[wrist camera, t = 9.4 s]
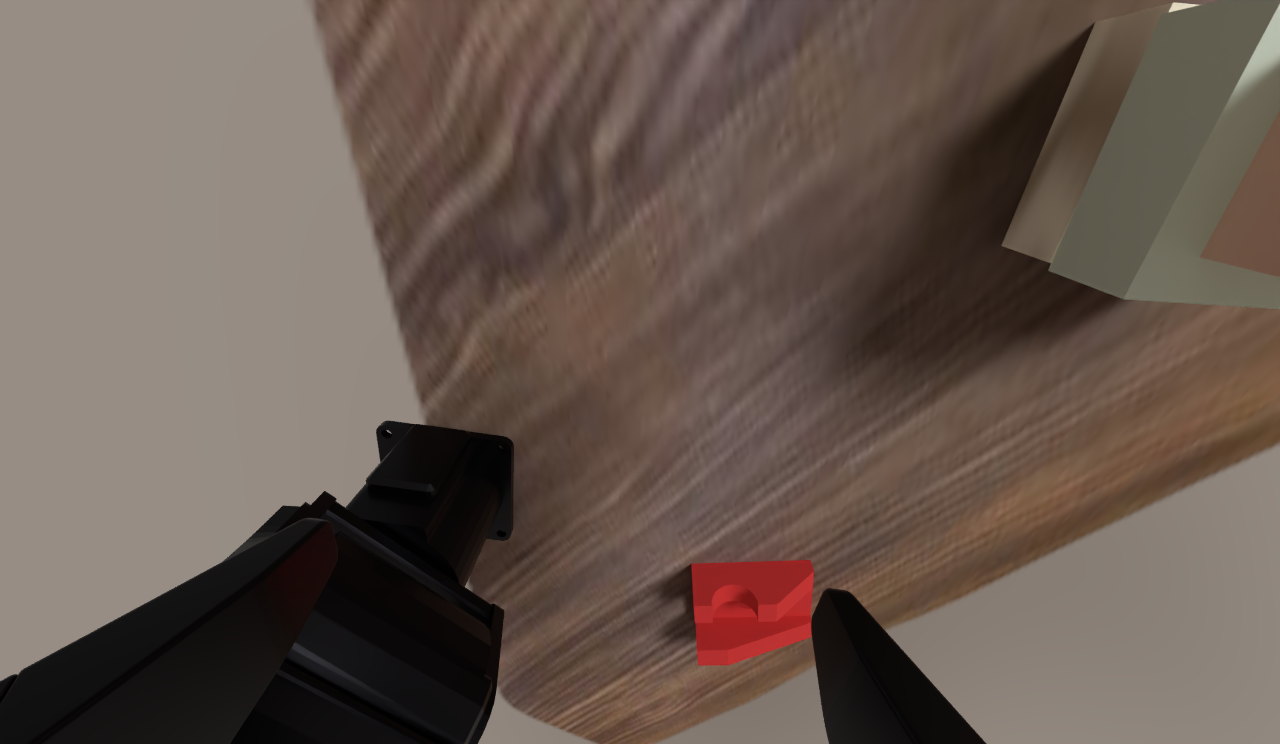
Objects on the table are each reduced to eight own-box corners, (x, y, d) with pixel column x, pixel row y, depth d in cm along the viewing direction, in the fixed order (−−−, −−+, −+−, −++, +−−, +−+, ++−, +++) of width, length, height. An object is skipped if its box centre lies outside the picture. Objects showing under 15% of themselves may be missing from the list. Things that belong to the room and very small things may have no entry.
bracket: (695, 616, 29) (698, 665, 26) (691, 559, 27) (693, 606, 24) (804, 613, 29) (818, 664, 26) (808, 555, 26) (824, 603, 24)
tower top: (1263, 283, 16) (1383, 315, 13) (1047, 270, 16) (1122, 299, 13) (1432, 26, 13) (1635, 0, 10) (1161, 14, 13) (1289, -16, 10)
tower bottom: (1175, 261, 19) (1261, 283, 16) (994, 243, 19) (1049, 262, 16) (1305, 44, 15) (1439, 26, 13) (1085, 24, 15) (1173, 2, 13)
